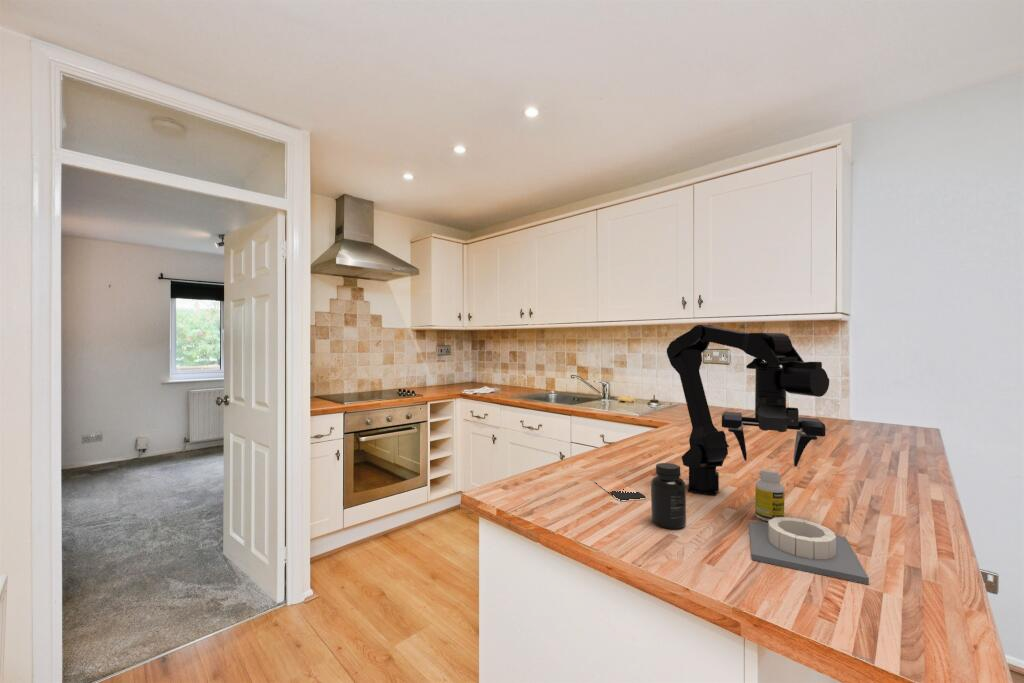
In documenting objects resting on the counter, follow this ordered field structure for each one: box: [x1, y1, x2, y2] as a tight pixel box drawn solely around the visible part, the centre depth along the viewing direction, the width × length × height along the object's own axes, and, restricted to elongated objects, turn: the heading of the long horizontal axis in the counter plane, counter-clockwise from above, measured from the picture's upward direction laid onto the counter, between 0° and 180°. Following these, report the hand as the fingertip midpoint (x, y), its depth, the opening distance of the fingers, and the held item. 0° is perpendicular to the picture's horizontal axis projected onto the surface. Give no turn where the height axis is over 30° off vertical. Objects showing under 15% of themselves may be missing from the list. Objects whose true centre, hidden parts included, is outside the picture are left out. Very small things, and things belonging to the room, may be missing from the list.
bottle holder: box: [748, 516, 870, 585], centre depth 78 cm, size 16×16×4 cm
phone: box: [610, 489, 646, 500], centre depth 109 cm, size 7×1×15 cm
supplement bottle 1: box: [650, 462, 687, 530], centre depth 89 cm, size 7×7×12 cm
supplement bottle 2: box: [754, 469, 786, 522], centre depth 92 cm, size 5×5×10 cm
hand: (769, 463), depth 92 cm, fingers open, 9 cm apart
